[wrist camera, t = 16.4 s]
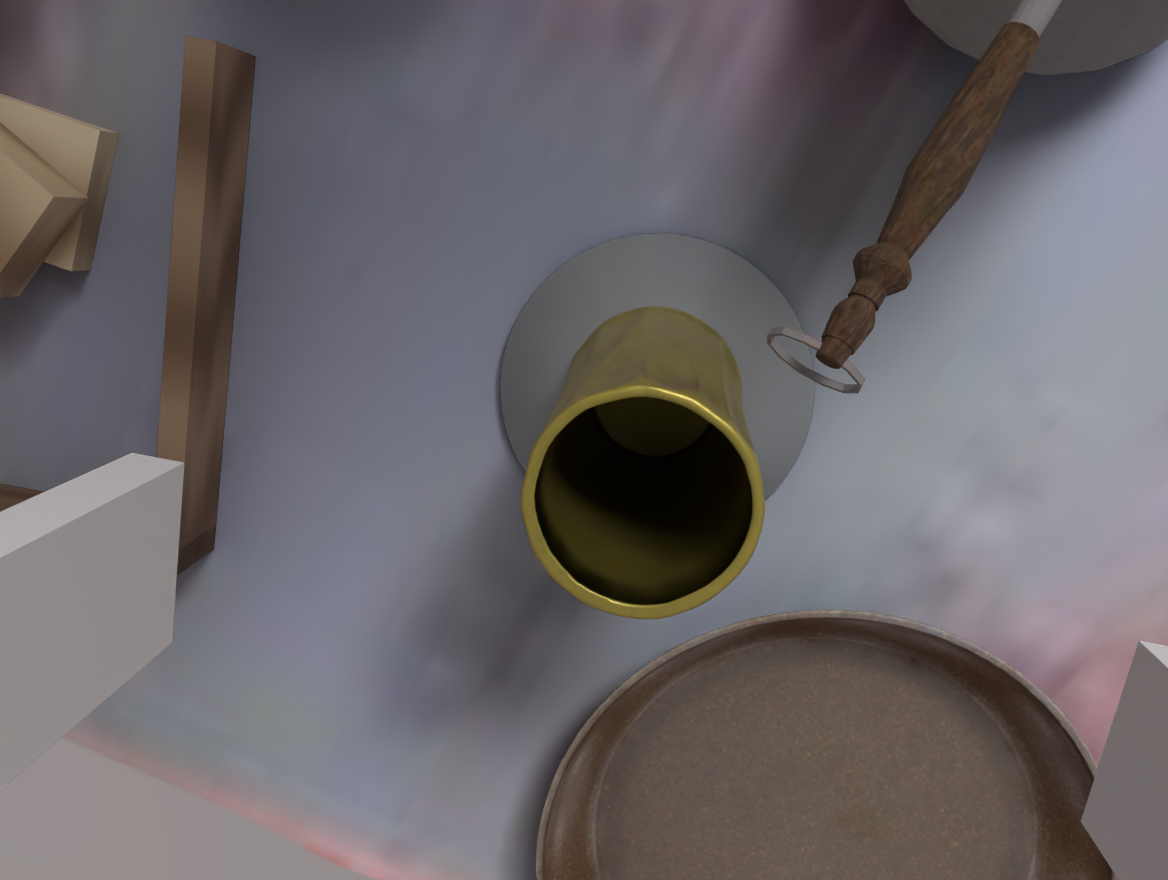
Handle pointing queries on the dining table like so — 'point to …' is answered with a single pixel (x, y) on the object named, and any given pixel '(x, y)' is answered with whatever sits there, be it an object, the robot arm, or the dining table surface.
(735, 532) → the vase
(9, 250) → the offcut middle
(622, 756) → the plant saucer
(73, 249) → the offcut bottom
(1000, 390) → the dining table surface
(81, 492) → the robot arm
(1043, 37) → the coffee pot
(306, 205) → the dining table surface
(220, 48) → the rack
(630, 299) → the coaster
